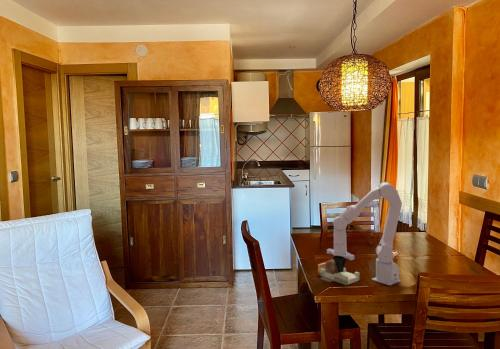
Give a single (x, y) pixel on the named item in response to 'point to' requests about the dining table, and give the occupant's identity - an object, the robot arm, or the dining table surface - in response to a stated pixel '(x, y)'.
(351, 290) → the dining table surface
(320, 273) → the trap lane
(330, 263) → the walnut block
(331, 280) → the mats
